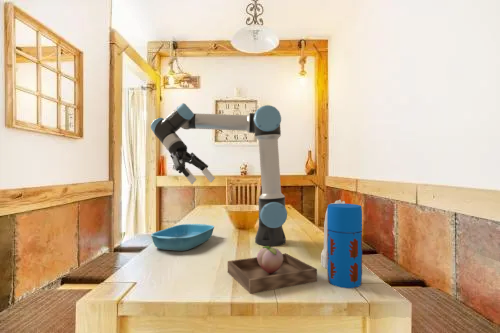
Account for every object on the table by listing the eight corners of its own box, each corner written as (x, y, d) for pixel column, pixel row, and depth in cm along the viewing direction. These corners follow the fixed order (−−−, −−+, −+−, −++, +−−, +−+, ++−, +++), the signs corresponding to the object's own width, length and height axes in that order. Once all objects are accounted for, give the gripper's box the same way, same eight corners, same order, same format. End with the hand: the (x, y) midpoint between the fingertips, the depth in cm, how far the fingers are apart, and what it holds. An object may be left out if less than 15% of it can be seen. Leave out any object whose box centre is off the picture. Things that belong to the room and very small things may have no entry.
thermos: (361, 278, 104) (361, 204, 104) (362, 290, 94) (362, 208, 94) (328, 274, 108) (328, 202, 108) (325, 285, 98) (325, 206, 98)
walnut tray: (285, 263, 120) (285, 253, 120) (316, 281, 101) (316, 269, 101) (227, 272, 110) (227, 261, 110) (250, 293, 92) (250, 280, 92)
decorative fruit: (288, 275, 104) (288, 245, 104) (269, 280, 100) (269, 249, 100) (271, 267, 112) (271, 240, 112) (253, 271, 108) (253, 243, 108)
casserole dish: (183, 234, 172) (183, 221, 172) (220, 237, 166) (220, 223, 166) (141, 252, 137) (141, 235, 137) (186, 256, 131) (186, 239, 131)
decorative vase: (334, 272, 110) (334, 202, 110) (315, 263, 119) (315, 199, 119) (357, 267, 115) (357, 200, 115) (336, 259, 124) (336, 198, 124)
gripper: (188, 153, 148) (214, 185, 142) (150, 151, 126) (179, 189, 119) (197, 141, 146) (224, 173, 139) (160, 137, 123) (190, 175, 117)
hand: (203, 181), depth 129 cm, fingers open, 13 cm apart
